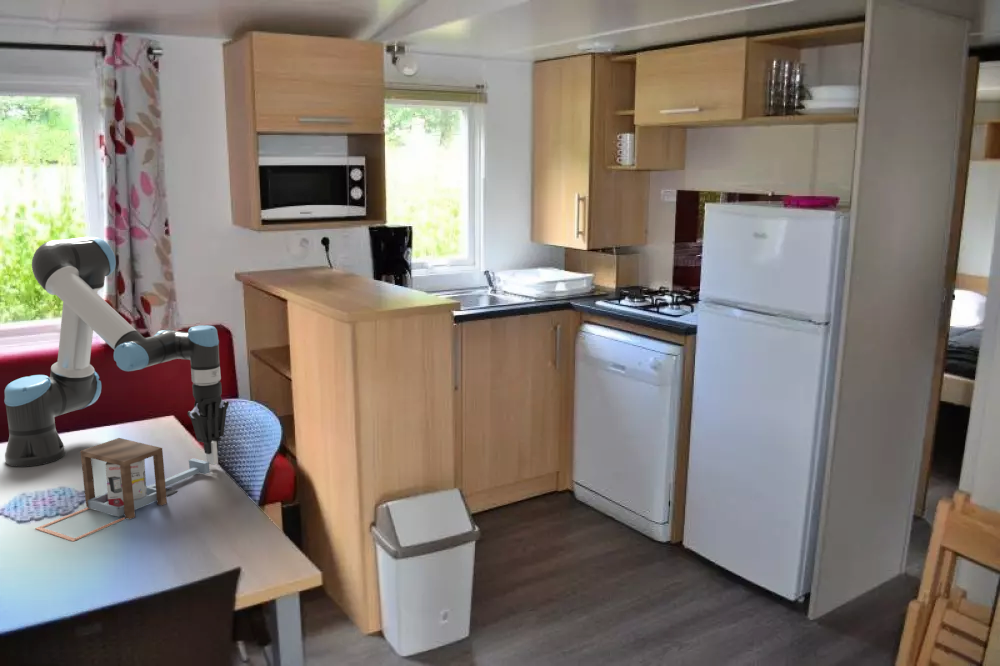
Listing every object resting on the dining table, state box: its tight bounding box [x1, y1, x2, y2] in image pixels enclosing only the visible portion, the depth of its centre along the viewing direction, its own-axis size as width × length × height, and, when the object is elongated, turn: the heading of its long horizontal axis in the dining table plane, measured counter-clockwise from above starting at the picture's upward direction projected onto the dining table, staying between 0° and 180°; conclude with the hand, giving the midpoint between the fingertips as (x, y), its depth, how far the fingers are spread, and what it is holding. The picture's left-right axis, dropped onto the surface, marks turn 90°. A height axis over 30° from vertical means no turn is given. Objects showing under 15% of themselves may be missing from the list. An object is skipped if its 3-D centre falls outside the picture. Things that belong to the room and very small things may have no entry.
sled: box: [88, 457, 211, 518], centre depth 213 cm, size 11×31×3 cm, turn 152°
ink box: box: [105, 459, 147, 507], centre depth 205 cm, size 9×5×12 cm, turn 107°
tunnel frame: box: [80, 437, 168, 520], centre depth 204 cm, size 16×11×15 cm
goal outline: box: [35, 507, 126, 542], centre depth 195 cm, size 14×14×1 cm
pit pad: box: [166, 487, 178, 498], centre depth 214 cm, size 9×5×1 cm, turn 62°
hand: (212, 463), depth 230 cm, fingers closed
